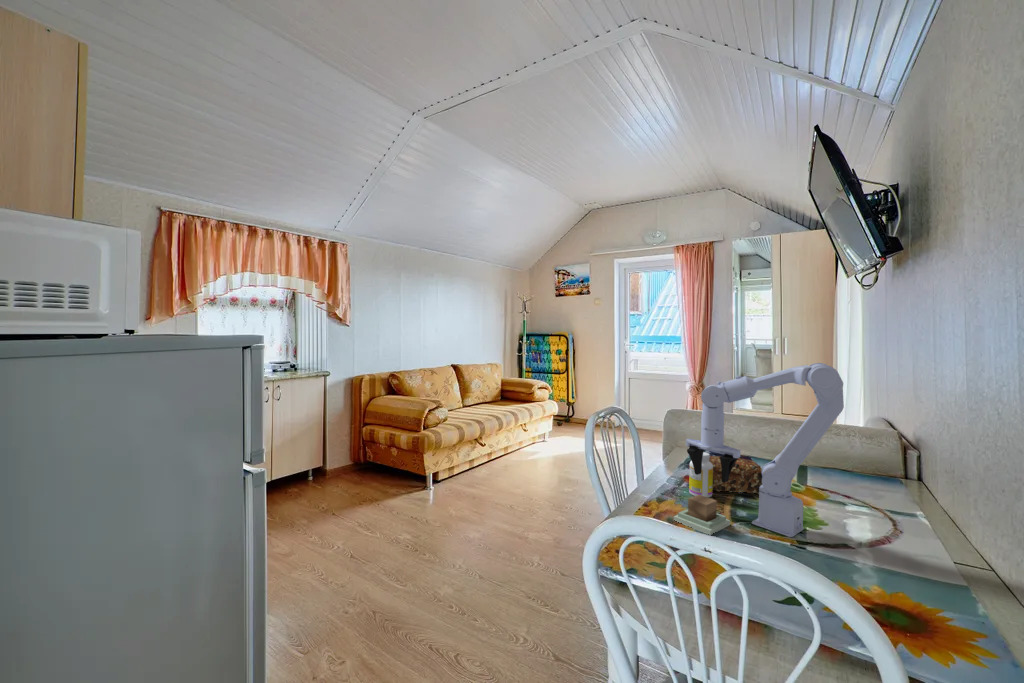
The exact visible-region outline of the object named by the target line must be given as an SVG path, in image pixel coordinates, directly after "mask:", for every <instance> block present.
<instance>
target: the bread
mask: <svg viewBox="0 0 1024 683" xmlns="http://www.w3.org/2000/svg"><path fill="white" fill-rule="evenodd" d="M721 456H722V455H714V456H712V455H710V458H709V462H711V463H712V465H713V491H716V492H720V491H732V492H747V493H746V494H754V493H759V487H760V486H761V485H762V468H763V467H761V465H760V464H758V463H757V462H756V461H754V460H752V459H745V458H741V457H739V458H738V459H737V461H736V462H735V464H734V466H733V467H732V470H731V472H730V475H729V478H728V481H727V482H725V483H724V482H722V480H721V475H722V468H721V461H720V457H721Z"/></svg>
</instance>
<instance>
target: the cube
mask: <svg viewBox="0 0 1024 683" xmlns="http://www.w3.org/2000/svg"><path fill="white" fill-rule="evenodd" d="M687 503H688V504H687V505H688V506H687V509H688V515H689V516H692V517H695V518H697V519H700V520H703V521H706V522H709V521H711V520H713V519H715V518H716V513H718V512H717V508H718V505H717V504H718V500H716V499H714V498H712V497H709V498H708V497H705V496H702V495H697V496H690V497H688V500H687Z"/></svg>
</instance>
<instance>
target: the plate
mask: <svg viewBox="0 0 1024 683" xmlns="http://www.w3.org/2000/svg"><path fill="white" fill-rule="evenodd" d="M674 520H675V521H677V522H676V523H678V522H679V523H678V524H680V523H682V524H681V525H683V526H686V527H688V526H689V528H690V527H692V528H691V529H693V530H696V531H698V532H701V533H704V534H706V535H708V534H709V535H708V536H711V535H713V533H714V534H716V533H718V532H719V531H721V530H723V529H725V528H727V527H729V526H731V520H730V519H727V515H723V514H720V513H718V512H717V513H716V518H715V519H713V520H711V521H709V522H706V521H703V520H700V519H697V518H695V517H692V516H689V515H688V508H687V509H686V508H685V509H683V510H682V511H679V512H677V514H676V515H674V516H673V521H674ZM675 521H674V522H675ZM715 532H716V533H715Z"/></svg>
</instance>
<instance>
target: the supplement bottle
mask: <svg viewBox="0 0 1024 683" xmlns="http://www.w3.org/2000/svg"><path fill="white" fill-rule="evenodd" d="M710 456H711V454H710V453H709V452H705V451H704V452H703V457H702V471H701V474H698V475H696V474H695V471H694V467H693V463H692V460H690V462H689V470H688V471H689V472H688V473H689V474H688V477H689V479H688V480H689V482H688V490H689V494H690V495H692V497H694V496H697V495H702V496H705V497H708V498H712V496H713V492H714V490H713V465H712V463H711V462H709V458H710Z"/></svg>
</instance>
